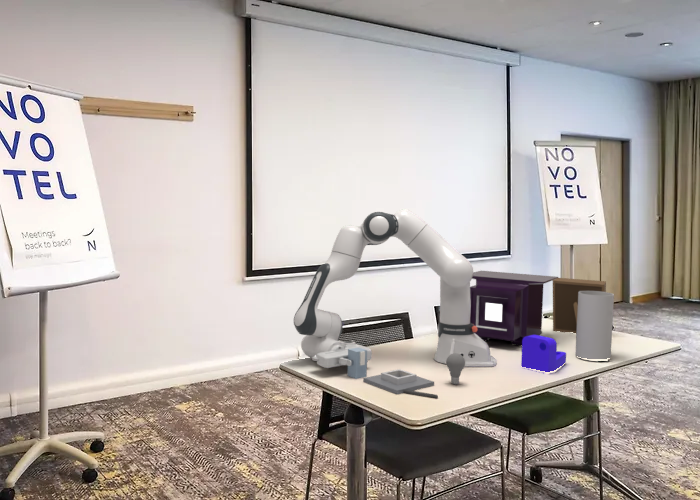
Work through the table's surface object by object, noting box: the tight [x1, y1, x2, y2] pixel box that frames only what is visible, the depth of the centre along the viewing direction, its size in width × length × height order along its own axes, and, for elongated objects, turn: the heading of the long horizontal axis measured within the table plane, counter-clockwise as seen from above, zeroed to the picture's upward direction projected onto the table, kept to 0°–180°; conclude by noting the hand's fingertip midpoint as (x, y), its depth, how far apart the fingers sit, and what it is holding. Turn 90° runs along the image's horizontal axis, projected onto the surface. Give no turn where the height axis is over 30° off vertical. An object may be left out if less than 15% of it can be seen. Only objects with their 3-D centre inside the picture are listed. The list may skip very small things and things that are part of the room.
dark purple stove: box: [470, 270, 559, 346], centre depth 263 cm, size 35×35×27 cm
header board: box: [363, 368, 435, 395], centre depth 198 cm, size 16×16×3 cm
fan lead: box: [403, 390, 439, 399], centre depth 187 cm, size 11×1×1 cm, turn 63°
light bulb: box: [446, 353, 465, 385], centre depth 199 cm, size 6×6×10 cm
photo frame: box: [552, 277, 607, 334], centre depth 276 cm, size 15×22×25 cm
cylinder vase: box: [575, 291, 615, 359], centre depth 235 cm, size 12×12×25 cm
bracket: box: [520, 335, 567, 372], centre depth 222 cm, size 18×11×12 cm, turn 129°
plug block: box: [347, 347, 368, 380], centre depth 205 cm, size 4×5×9 cm
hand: (359, 361), depth 205 cm, fingers open, 5 cm apart
